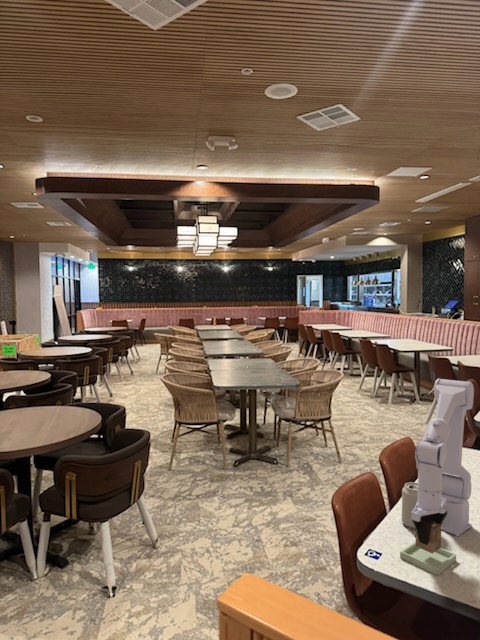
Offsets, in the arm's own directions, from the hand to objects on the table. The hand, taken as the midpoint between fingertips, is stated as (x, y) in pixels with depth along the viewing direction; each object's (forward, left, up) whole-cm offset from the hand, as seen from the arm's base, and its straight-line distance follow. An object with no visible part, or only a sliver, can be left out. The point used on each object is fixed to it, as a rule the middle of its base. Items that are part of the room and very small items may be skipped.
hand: (428, 539), depth 118 cm
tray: (0, 0, -5) cm, 5 cm away
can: (-15, -12, -5) cm, 19 cm away
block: (0, 0, -2) cm, 2 cm away
